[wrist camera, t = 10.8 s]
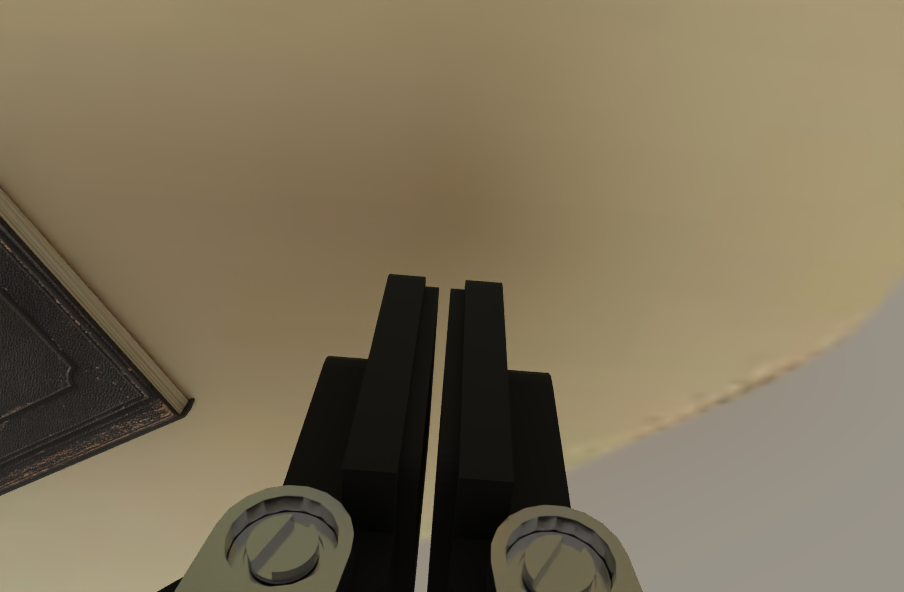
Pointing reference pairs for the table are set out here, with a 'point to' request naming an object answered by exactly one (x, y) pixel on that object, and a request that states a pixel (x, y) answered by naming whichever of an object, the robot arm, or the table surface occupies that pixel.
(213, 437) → the table surface
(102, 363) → the hardcover book
